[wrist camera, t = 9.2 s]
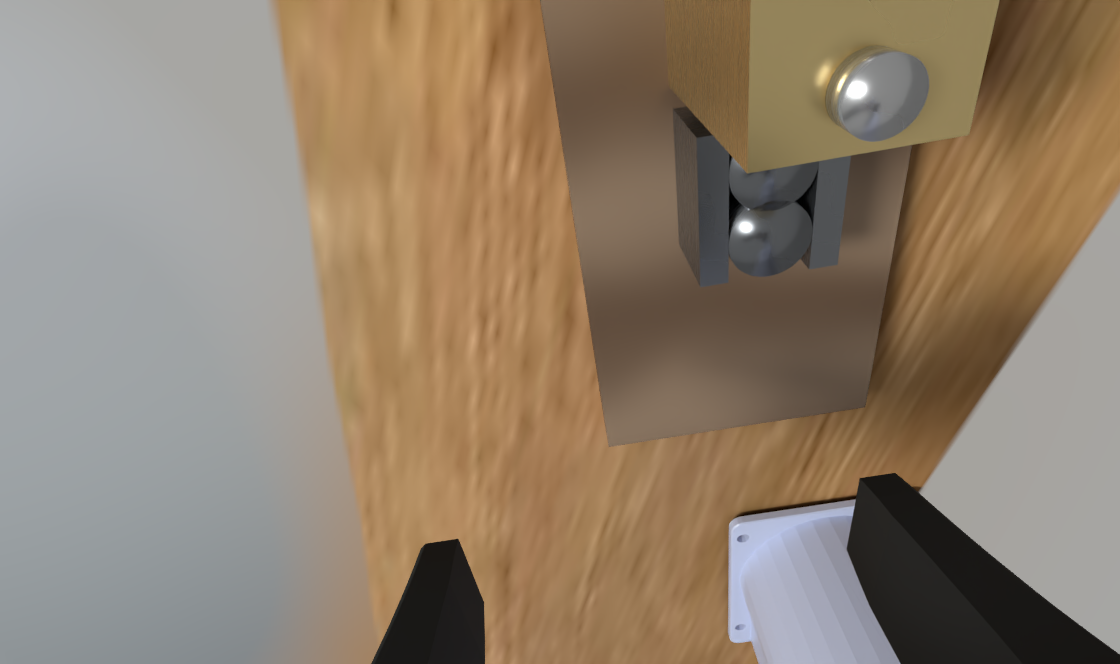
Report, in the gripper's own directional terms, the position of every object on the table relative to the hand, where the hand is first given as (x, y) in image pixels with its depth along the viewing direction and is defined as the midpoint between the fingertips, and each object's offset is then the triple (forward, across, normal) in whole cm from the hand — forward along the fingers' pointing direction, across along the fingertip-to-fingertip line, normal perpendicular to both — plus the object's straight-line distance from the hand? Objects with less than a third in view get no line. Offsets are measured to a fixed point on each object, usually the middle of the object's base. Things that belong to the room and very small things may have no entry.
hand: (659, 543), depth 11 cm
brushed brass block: (+8, -4, -8) cm, 12 cm away
